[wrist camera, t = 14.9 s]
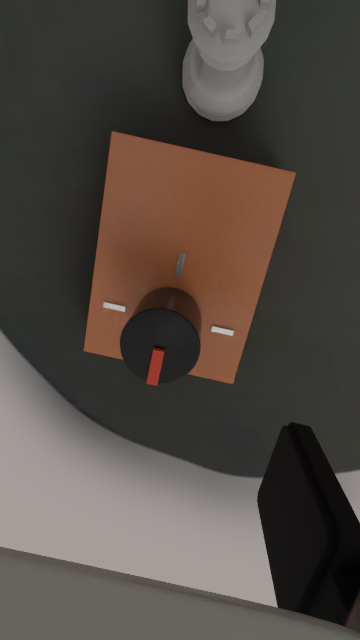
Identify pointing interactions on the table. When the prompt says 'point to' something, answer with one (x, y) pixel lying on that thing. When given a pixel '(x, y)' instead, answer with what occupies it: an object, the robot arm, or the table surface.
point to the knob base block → (184, 242)
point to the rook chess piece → (225, 55)
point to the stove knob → (162, 336)
